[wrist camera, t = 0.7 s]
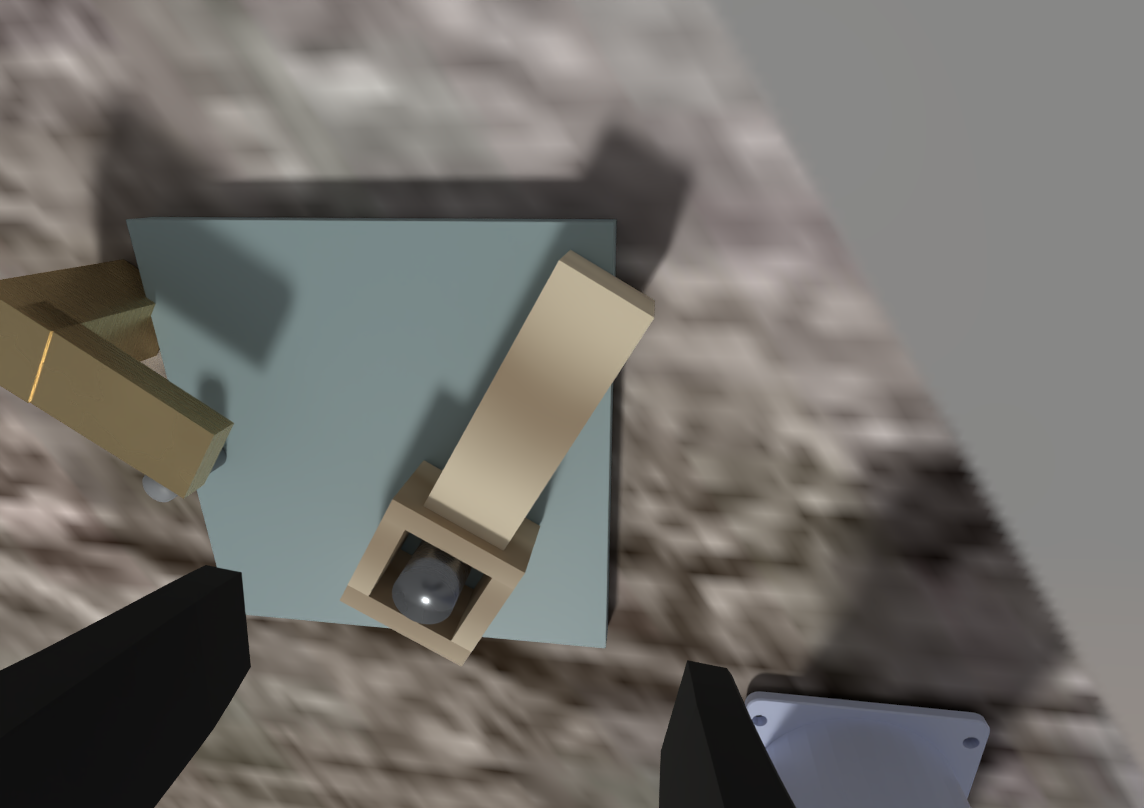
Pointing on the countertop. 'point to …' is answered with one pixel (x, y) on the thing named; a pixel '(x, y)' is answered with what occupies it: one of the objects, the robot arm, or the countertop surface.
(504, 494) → the link
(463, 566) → the cylinder
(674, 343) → the countertop surface
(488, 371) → the base board
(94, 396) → the keeper
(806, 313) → the countertop surface
